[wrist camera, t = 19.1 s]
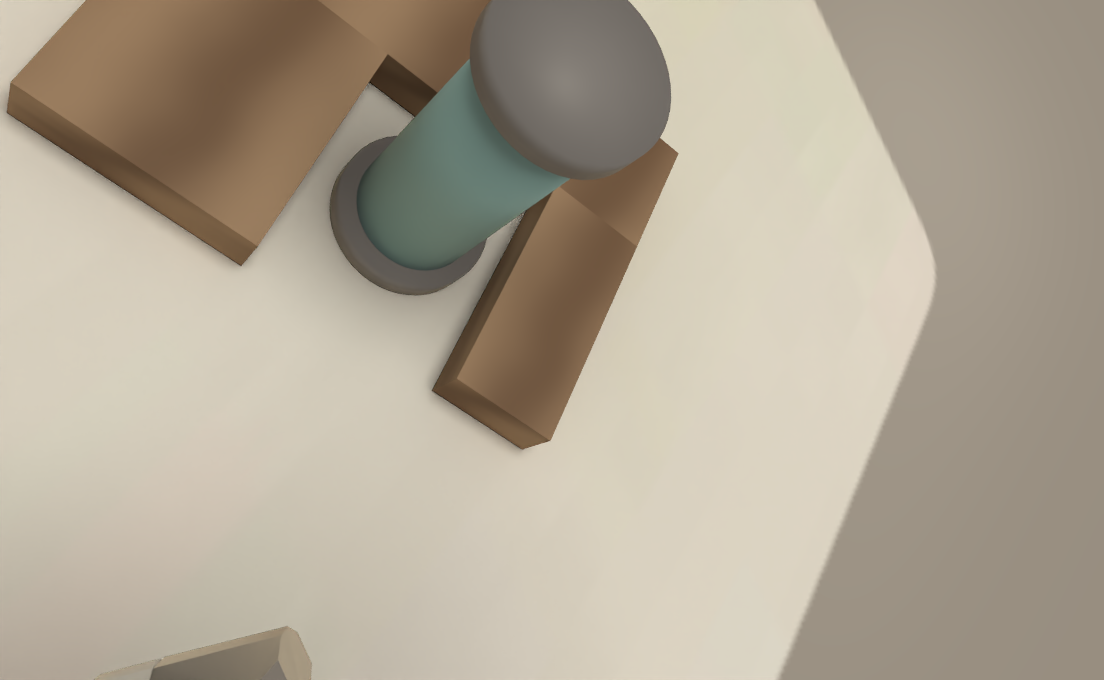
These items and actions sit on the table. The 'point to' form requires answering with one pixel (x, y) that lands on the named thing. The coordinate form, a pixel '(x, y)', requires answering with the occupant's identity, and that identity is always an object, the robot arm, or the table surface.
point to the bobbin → (502, 138)
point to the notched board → (300, 136)
